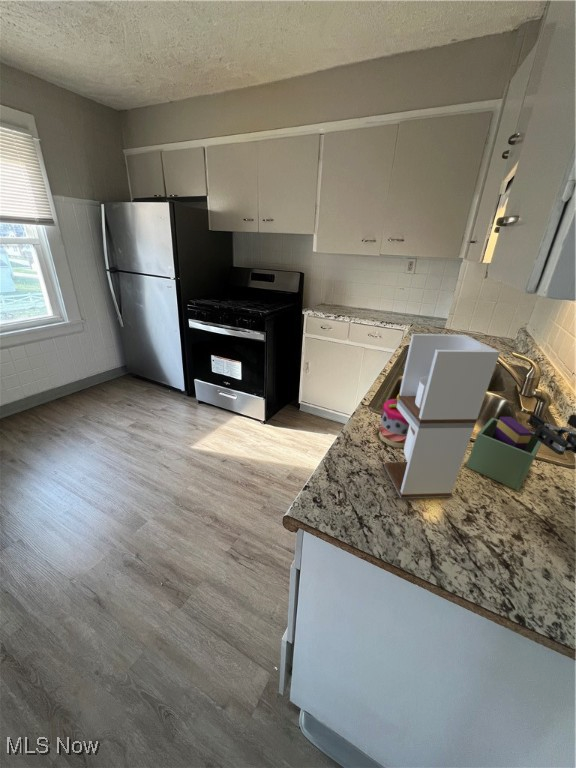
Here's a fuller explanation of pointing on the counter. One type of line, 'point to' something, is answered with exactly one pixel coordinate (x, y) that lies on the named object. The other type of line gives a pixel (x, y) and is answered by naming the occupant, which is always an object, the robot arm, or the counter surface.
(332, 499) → the counter surface
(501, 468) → the waste bin
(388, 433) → the cake
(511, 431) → the chocolate bar
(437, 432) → the display case
